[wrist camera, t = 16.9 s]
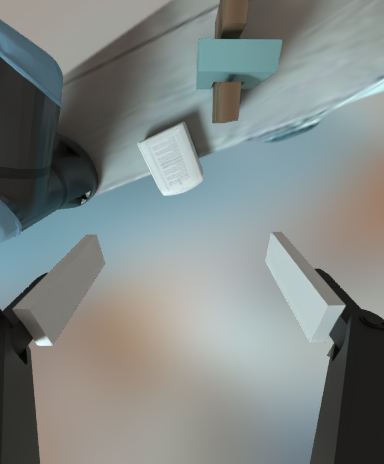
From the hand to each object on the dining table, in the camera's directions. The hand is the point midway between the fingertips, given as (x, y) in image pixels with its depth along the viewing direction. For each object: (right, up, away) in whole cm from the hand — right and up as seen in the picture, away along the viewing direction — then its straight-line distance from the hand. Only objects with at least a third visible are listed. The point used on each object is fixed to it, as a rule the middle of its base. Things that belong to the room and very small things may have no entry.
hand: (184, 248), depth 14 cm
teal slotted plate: (+6, +29, +19) cm, 35 cm away
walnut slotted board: (+6, +29, +19) cm, 35 cm away
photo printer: (-6, +21, +21) cm, 30 cm away
